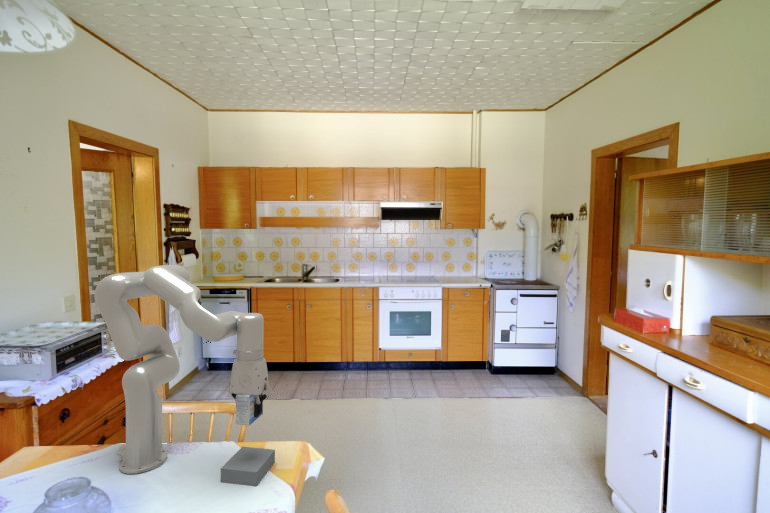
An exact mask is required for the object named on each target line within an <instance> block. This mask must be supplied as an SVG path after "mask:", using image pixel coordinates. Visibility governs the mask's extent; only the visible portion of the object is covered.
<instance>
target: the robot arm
mask: <svg viewBox="0 0 770 513" xmlns="http://www.w3.org/2000/svg"><path fill="white" fill-rule="evenodd" d="M190 279H191V278H190V273H189V272H188V269H186V268H185V267H183V266H182V265H180V264H163V265H154V266H152V267H149V268H148V269H147V270H146V271H145V270H144V271H132V272H131V271H128V272H119V273H118V272H117V273H113V274H112V273H111V274H110V275H107V276H105V277H104V278H102V279H101V280H99V282H98V283H97V285H96V286H95V290H94V294H93V295H94V302H95V303H94V304H95V306H96V308H97V311H98V312H99V314H100V316H101V317H102V319H103V320H104V323H105V325H106V326H107V330H108V333H109V336H110V338H111V341H112V343H113V346H114V348H115V351H116V353H117V355H118V357H119V358H120V359H121V360H123V361H132V360H133V361H134V360H137V359H140V358H143V357H145V356H146V358H147V359H144V360H142V361H140V362H138V363H135V364H133V365H131V366H130V367H129V368H128V369H127V370H126V371H125V372H124V373H123V376H122V378H121V385H122V390H123V394H124V401H125V444H121V445H120V446H119V448H118V451H117V450H116V453H115V455H116V457H117V456H119V457H120V456H121V457H122V460H121V461H120V463H119V465H118V468H119V471H120V472H121V473H123V474H129V475H133V474H141V473H145V472H149V471H150V470H154V469H156V468H158V467H159V466H161V465H162V464H164V462H166V460H167V459H168V454H169V453H168V451H167V450H166V449H164V448H163V401H162V398H161V396H160V394H159V392H158V388H160V387H163V385H165V384H168V383H169V382H171V381H172V380H173V381H174V379H175V378H177V377H178V375H179V373H180V367H181V366H180V361H179V358H178V355H177V353H176V350H175V347H174V345H173V342H172V339H171V337H170V335H169V333H168V331H167V329H165V328H164V327H163V326H161V325H159V324H157V323H155V324H153V323H152V324H151V323H149V324H145V325H143V323H142V321H141V319H140V316H139V313H138V311H137V310H136V309H135V307H133V306H132V305H131V304H130V303H129V302H128V300H134V299H139V298H146V297H151V296H157V297H159V298H160V299H161V300H163V302H166V303H167V304H169V305H170V306H172V307H173V308H174V309H176V310H177V311H178V313H179V316H180V318H181V320H182V322H183V324H184V326H186V327H187V328H188V329H189V330H190V331H191V332H193V333H194V334H196V335H198V336H199V337H201V338H203V339H204V340H206V341H208V342H214V343H216V342H221V341H224V340H225V339H227V338H229V337H234V336H236V349H234V350H233V352H232V354H233V355H235V356H236V358H235V359H234V360H233V364H232V366H231V367H232V368H231V374H230V384H229V385H228V387H227V388H226V392H228V393H229V394H230V395H231V396H232V398H233V399H234V402H235V403H236V396H237V395H238V394H247V395H255V399H256V404H255V405H254V417H256V418H257V417H258V416H259V415H260V414H261V413H262V407H263V408H264V401H265V399H267V398H268V397H269V396H271V395H273V393H274V390H273V388H272V387H271V385H270V384H269V376H268V375H269V373H268V366H267V365H268V364H267V360H266V358H265V357H264V338H265V337H264V331H265V326H264V323H265V318H264V316H263V314H261V313H259V312H241V311H236V310H229V311H224V312H221V313H218V314H213V313H212V312H210V311H209V310H207V309H206V308H205V307H203V306H202V305H201V304H200V303H199V302H198V301H199V299H200V297H201V289H200V288H199V287H198V286H196V285H195V284H193V283H191V282H190ZM264 392H265V393H264ZM257 419H258V418H257Z"/></svg>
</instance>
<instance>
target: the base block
mask: <svg viewBox="0 0 770 513" xmlns="http://www.w3.org/2000/svg"><path fill="white" fill-rule="evenodd" d="M275 462H276V449H271V448H261V447H251V446H241V447H240V448H239V449H238V450H237V451H236V453H234V454H233V455H232V456H231V457H230V458H229V460H228V461H226V462H225V463H224V464H223V465H222V466H221V468H220V483H225V484H233V485H234V484H236V485H243V486H253V487H257V486H258V485H259V484H260V482H261V481H262V480H263V479H264V478H265V476H266V474H267V473H268V471H270V469H271V468H272V467H273V465H274V464H275Z"/></svg>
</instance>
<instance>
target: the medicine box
mask: <svg viewBox="0 0 770 513" xmlns="http://www.w3.org/2000/svg"><path fill="white" fill-rule="evenodd" d="M255 404H256V399H255V395H247V394H238V395H237V396H236V402H235V424H236V425H241V426H249V427H250V425H252V424H253V423H254V422H255V421H256V420H258V419H260V417H261V416H262V415H263V414H264V406H263V407H262V413H261V414H260V415H259V416H258V417H257V418H256V417H254V405H255Z"/></svg>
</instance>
